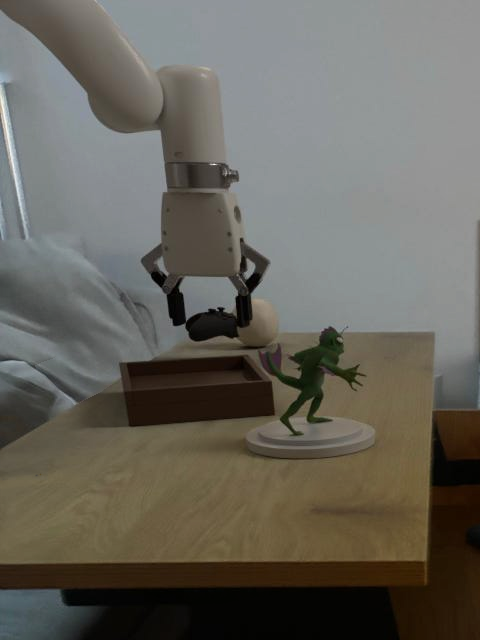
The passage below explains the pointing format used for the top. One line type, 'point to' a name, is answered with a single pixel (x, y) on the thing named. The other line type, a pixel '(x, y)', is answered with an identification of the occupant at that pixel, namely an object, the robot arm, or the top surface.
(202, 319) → the gaming controller
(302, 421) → the monster figurine
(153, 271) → the robot arm
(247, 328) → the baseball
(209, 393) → the tray
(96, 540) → the top surface
